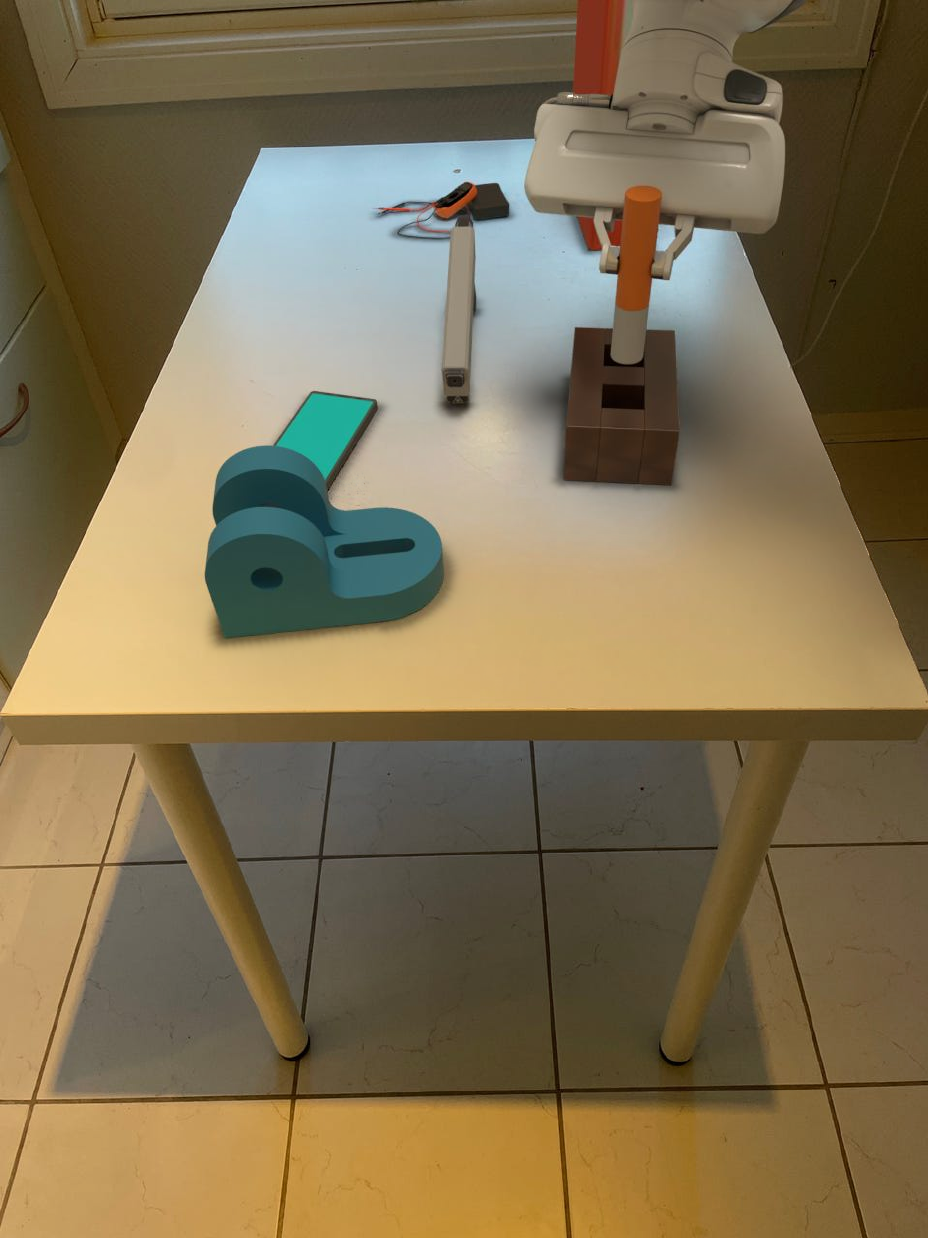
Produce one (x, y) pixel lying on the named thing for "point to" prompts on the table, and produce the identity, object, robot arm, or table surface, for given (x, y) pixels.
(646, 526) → the table surface
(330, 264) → the table surface
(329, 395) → the smartphone
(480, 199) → the multimeter
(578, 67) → the file binder
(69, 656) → the table surface
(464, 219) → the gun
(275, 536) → the camera mount
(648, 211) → the orange cylinder rod
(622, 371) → the pen stand
